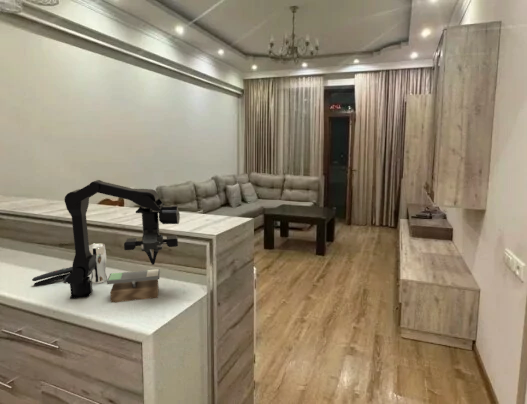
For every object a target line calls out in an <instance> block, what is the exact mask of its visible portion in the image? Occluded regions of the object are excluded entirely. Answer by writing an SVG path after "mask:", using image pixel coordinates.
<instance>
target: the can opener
mask: <svg viewBox="0 0 527 404" xmlns="http://www.w3.org/2000/svg"><path fill="white" fill-rule="evenodd" d="M71 273H72V266H69V267H63V268H61V269H56V270H53V271H50V272H49V271H48V272H46V273H43V274H41V275H40V274H39V275H36V276H35V277H33V278H32V280H31V281H33V282H34V284H33V286H34V287H39V286H44V285H48V284H52V283H54V282H57V281H60V280H62V281H63V282H64V283H67V281H66V278H67V277H68V276H69V275H70V274H71ZM67 284H68V283H67Z"/></svg>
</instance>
